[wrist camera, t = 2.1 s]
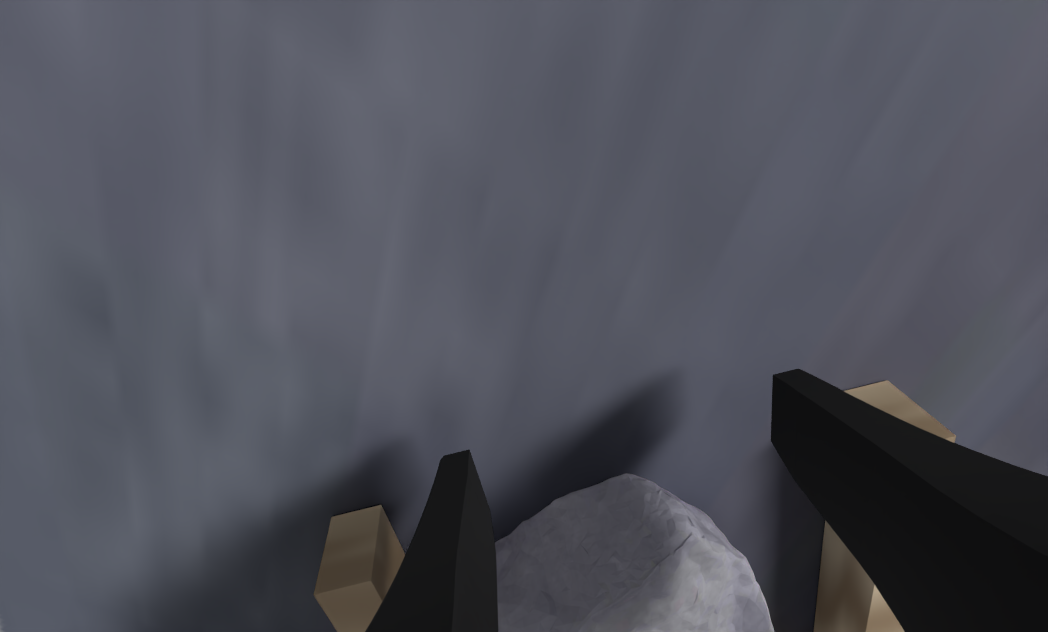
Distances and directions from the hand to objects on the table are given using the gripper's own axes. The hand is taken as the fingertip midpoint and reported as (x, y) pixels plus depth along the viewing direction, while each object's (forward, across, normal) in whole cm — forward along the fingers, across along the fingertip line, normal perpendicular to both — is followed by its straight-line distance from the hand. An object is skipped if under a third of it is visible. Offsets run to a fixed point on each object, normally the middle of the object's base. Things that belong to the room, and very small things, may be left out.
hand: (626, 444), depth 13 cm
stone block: (+3, +1, +10) cm, 10 cm away
